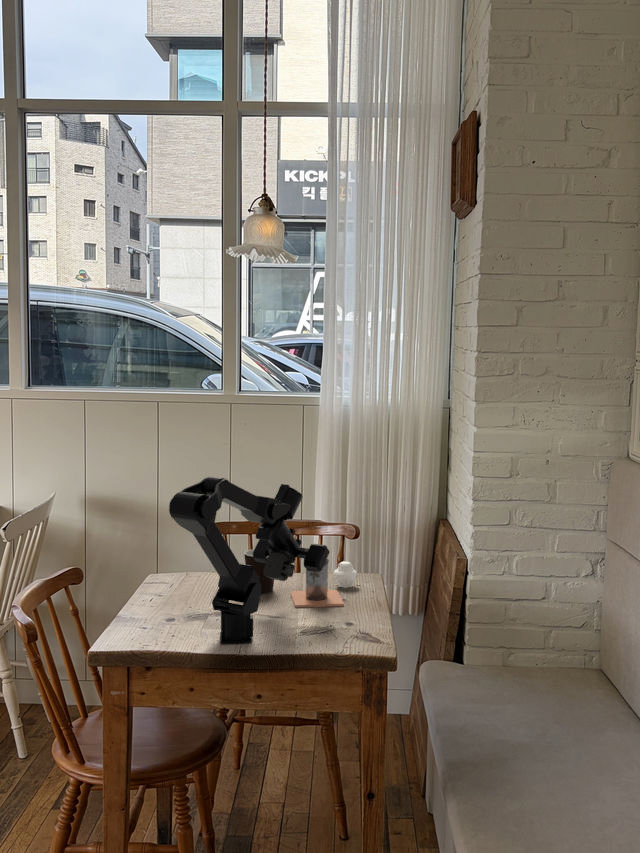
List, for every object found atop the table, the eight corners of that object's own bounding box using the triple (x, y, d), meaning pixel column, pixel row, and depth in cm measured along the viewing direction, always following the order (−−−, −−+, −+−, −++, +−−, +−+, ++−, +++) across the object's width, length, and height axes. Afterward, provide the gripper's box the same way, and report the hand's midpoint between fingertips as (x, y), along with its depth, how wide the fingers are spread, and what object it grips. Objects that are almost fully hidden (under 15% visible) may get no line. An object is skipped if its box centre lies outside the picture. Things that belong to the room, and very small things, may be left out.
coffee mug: (272, 596, 211) (272, 557, 210) (239, 594, 213) (239, 555, 212) (283, 584, 223) (283, 547, 222) (252, 582, 224) (252, 545, 223)
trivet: (295, 607, 202) (295, 605, 202) (290, 593, 214) (290, 591, 214) (343, 606, 203) (343, 603, 203) (336, 592, 215) (336, 590, 215)
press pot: (311, 601, 205) (311, 560, 204) (301, 595, 210) (301, 555, 209) (332, 599, 207) (332, 558, 206) (321, 592, 212) (322, 552, 211)
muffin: (357, 584, 223) (357, 558, 223) (355, 590, 217) (356, 564, 217) (334, 583, 224) (334, 557, 223) (332, 589, 218) (332, 563, 217)
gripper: (231, 559, 192) (257, 595, 202) (299, 570, 183) (323, 607, 193) (251, 520, 198) (276, 557, 209) (318, 529, 189) (341, 567, 199)
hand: (302, 573), depth 202 cm, fingers open, 9 cm apart
